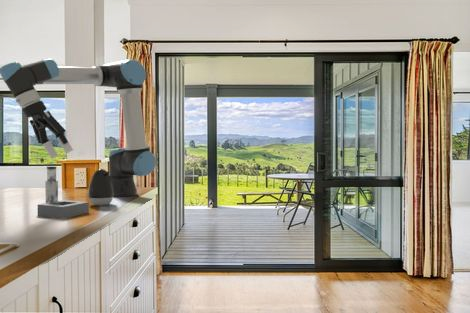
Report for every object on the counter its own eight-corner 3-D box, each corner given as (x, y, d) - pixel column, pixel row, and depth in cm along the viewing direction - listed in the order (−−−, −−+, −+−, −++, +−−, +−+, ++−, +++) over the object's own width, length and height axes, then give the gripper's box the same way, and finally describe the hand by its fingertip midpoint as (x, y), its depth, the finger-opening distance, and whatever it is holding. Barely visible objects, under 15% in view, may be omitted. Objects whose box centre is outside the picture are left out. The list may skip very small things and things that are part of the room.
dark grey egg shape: (97, 207, 150) (97, 170, 150) (83, 205, 157) (83, 168, 156) (119, 204, 159) (119, 168, 158) (104, 202, 165) (104, 167, 164)
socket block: (65, 210, 144) (65, 199, 144) (88, 212, 139) (88, 202, 139) (37, 215, 133) (37, 204, 133) (62, 218, 128) (62, 207, 128)
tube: (52, 207, 150) (52, 166, 149) (60, 208, 148) (60, 166, 148) (43, 209, 146) (42, 166, 145) (51, 210, 144) (50, 167, 143)
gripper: (10, 115, 144) (40, 163, 150) (34, 99, 127) (67, 154, 133) (29, 108, 149) (57, 154, 155) (54, 91, 133) (85, 144, 138)
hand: (62, 154), depth 144 cm, fingers open, 13 cm apart
